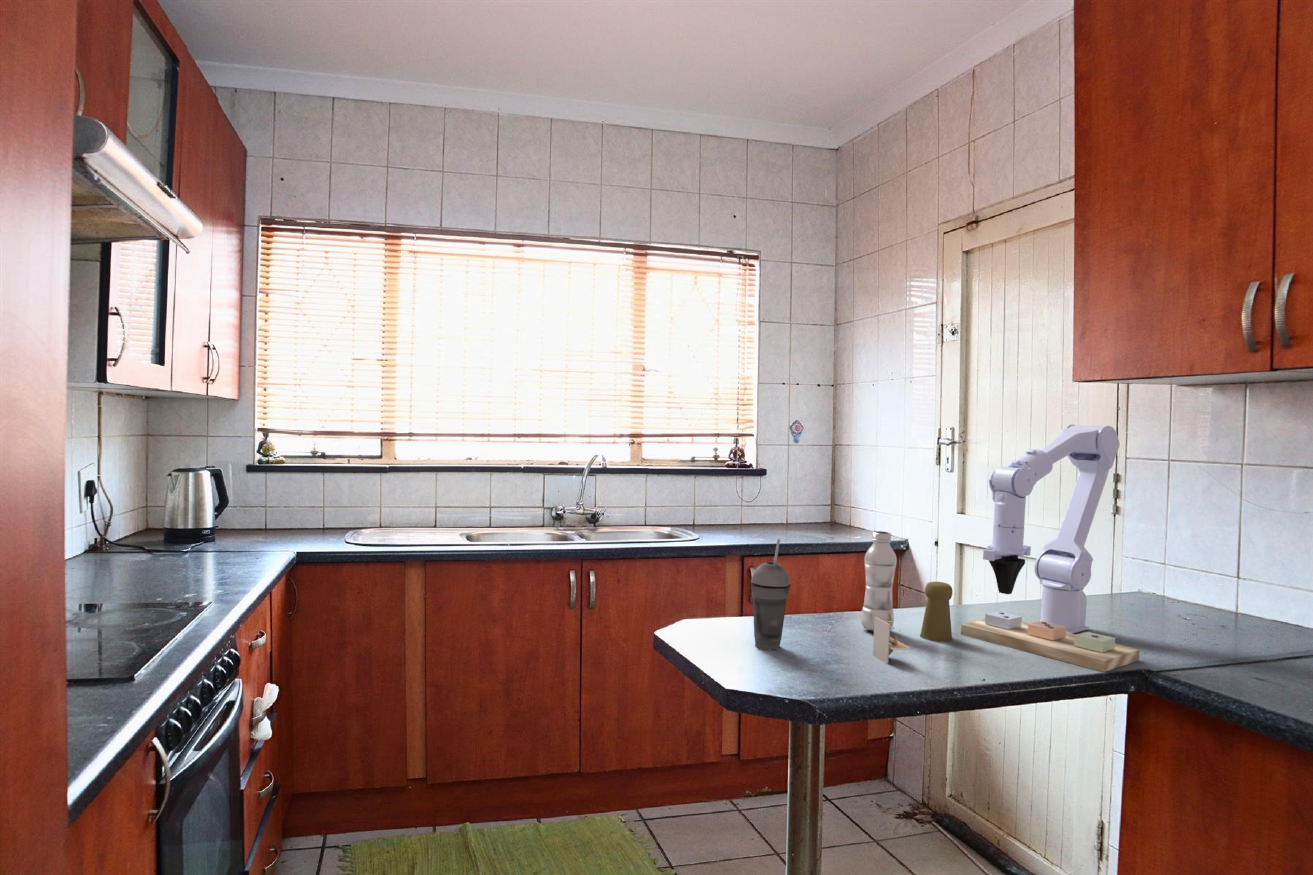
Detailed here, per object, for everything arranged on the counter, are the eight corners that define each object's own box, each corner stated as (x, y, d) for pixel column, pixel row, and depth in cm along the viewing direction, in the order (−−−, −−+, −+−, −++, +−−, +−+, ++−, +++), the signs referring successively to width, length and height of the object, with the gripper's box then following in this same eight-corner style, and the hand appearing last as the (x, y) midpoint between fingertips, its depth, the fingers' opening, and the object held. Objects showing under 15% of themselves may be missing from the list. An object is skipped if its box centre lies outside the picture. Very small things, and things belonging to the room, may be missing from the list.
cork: (954, 642, 161) (957, 586, 161) (921, 639, 162) (924, 584, 162) (949, 635, 167) (952, 580, 167) (918, 632, 168) (921, 578, 168)
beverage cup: (755, 638, 158) (760, 533, 157) (792, 645, 154) (797, 538, 154) (741, 647, 151) (747, 538, 150) (780, 654, 148) (785, 542, 147)
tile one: (1087, 642, 158) (1087, 630, 158) (1114, 648, 154) (1115, 637, 154) (1074, 645, 155) (1074, 634, 154) (1102, 652, 151) (1102, 640, 151)
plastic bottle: (857, 632, 166) (863, 532, 165) (862, 625, 172) (867, 529, 171) (891, 637, 163) (896, 536, 162) (895, 629, 169) (900, 532, 169)
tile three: (1040, 630, 165) (1041, 620, 165) (1065, 637, 161) (1066, 625, 161) (1027, 634, 162) (1028, 623, 162) (1052, 640, 158) (1053, 629, 158)
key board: (998, 625, 177) (998, 616, 177) (1138, 660, 154) (1139, 649, 154) (960, 634, 168) (961, 624, 168) (1104, 671, 146) (1104, 660, 146)
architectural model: (889, 656, 151) (891, 616, 151) (908, 668, 144) (910, 626, 144) (872, 657, 151) (874, 616, 150) (890, 669, 144) (892, 626, 144)
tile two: (998, 620, 172) (998, 610, 172) (1021, 626, 168) (1022, 615, 168) (984, 623, 169) (985, 613, 169) (1008, 629, 165) (1008, 618, 165)
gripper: (1009, 521, 175) (1005, 585, 176) (970, 525, 166) (967, 592, 167) (1041, 526, 170) (1038, 592, 170) (1003, 530, 161) (1000, 599, 161)
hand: (1005, 593), depth 168 cm, fingers closed
